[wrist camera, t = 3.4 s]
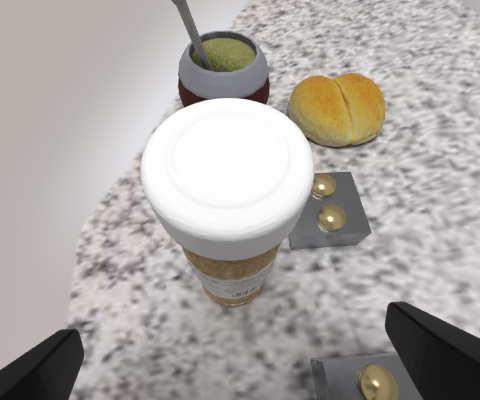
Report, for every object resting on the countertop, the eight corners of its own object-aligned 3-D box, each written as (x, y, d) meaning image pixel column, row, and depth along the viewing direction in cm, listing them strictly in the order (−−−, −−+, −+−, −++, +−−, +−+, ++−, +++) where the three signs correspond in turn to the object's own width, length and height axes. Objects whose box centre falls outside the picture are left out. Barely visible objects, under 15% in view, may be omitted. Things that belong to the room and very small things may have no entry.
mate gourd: (259, 106, 26) (283, -124, 13) (266, 168, 23) (311, -67, 10) (186, 108, 26) (138, -126, 13) (182, 171, 22) (108, -69, 9)
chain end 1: (356, 244, 19) (374, 230, 17) (291, 249, 19) (299, 235, 17) (338, 188, 22) (352, 168, 19) (280, 191, 22) (287, 172, 19)
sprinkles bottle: (253, 236, 20) (280, 78, 8) (273, 297, 17) (353, 206, 6) (194, 252, 19) (127, 106, 7) (208, 317, 17) (146, 263, 5)
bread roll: (280, 94, 28) (287, 59, 24) (360, 91, 28) (377, 55, 25) (295, 154, 24) (305, 122, 20) (387, 149, 24) (413, 116, 21)
